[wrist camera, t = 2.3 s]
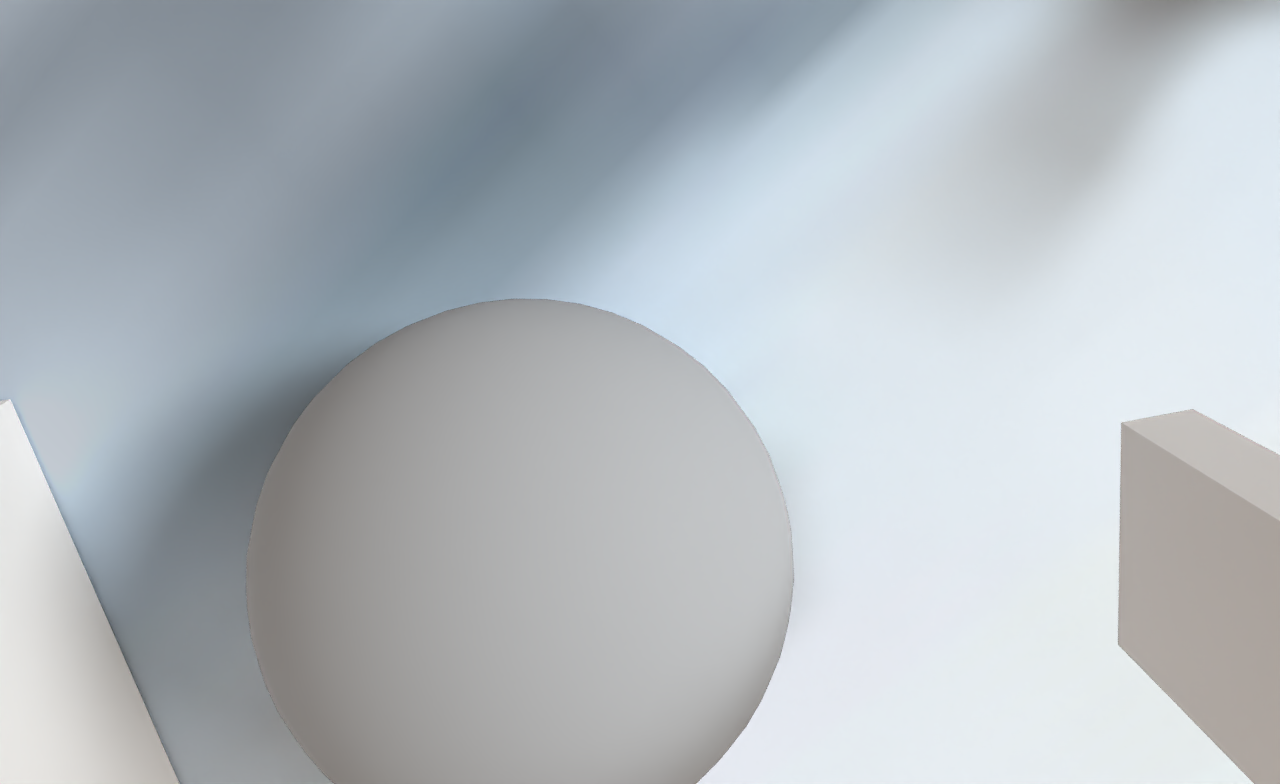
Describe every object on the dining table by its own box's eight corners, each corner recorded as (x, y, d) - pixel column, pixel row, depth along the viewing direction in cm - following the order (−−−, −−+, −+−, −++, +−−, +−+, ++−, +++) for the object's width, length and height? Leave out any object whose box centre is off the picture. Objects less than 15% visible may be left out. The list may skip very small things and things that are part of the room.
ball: (269, 293, 12) (21, 495, 7) (711, 214, 12) (836, 346, 7) (385, 660, 14) (273, 1049, 9) (762, 590, 14) (887, 930, 9)
